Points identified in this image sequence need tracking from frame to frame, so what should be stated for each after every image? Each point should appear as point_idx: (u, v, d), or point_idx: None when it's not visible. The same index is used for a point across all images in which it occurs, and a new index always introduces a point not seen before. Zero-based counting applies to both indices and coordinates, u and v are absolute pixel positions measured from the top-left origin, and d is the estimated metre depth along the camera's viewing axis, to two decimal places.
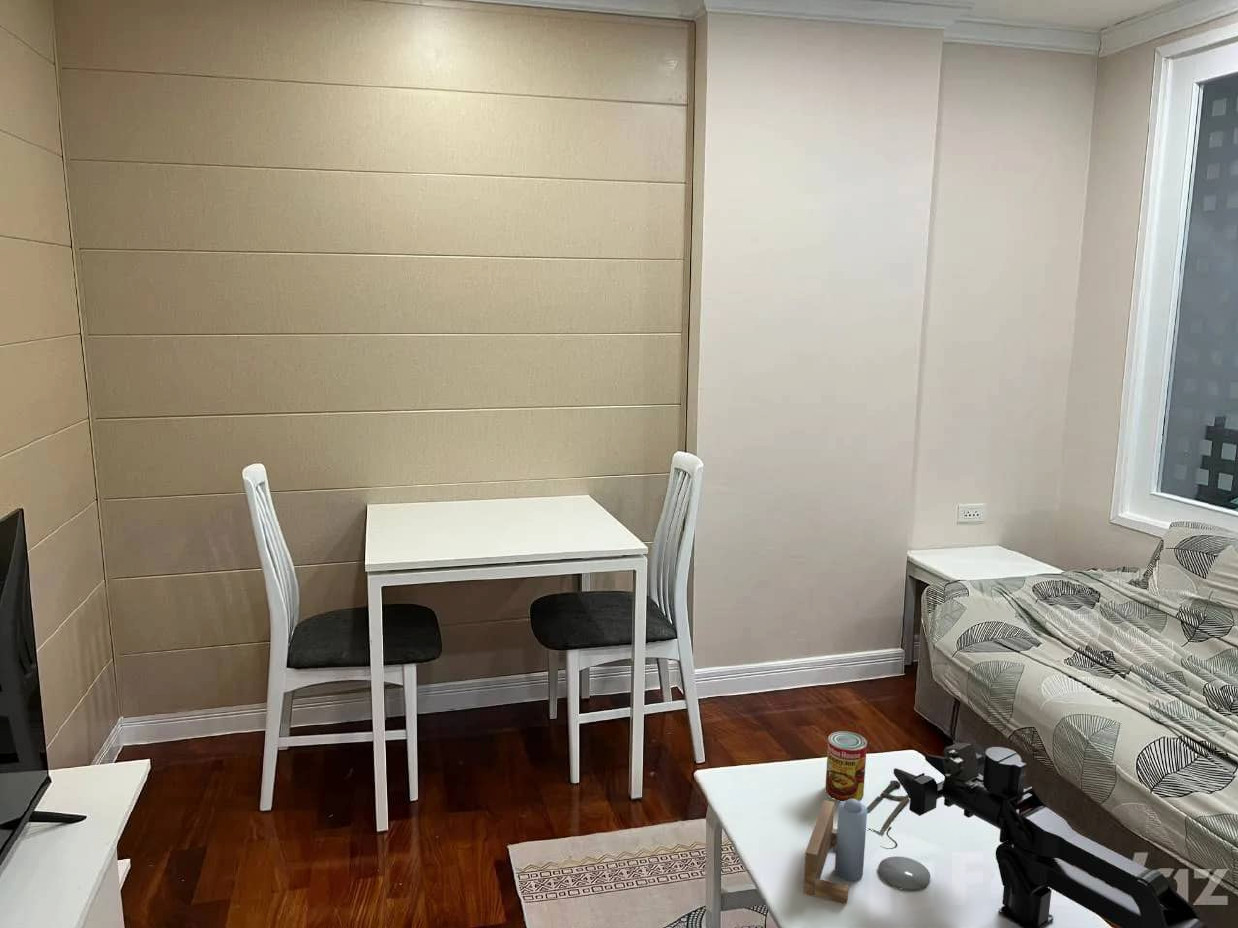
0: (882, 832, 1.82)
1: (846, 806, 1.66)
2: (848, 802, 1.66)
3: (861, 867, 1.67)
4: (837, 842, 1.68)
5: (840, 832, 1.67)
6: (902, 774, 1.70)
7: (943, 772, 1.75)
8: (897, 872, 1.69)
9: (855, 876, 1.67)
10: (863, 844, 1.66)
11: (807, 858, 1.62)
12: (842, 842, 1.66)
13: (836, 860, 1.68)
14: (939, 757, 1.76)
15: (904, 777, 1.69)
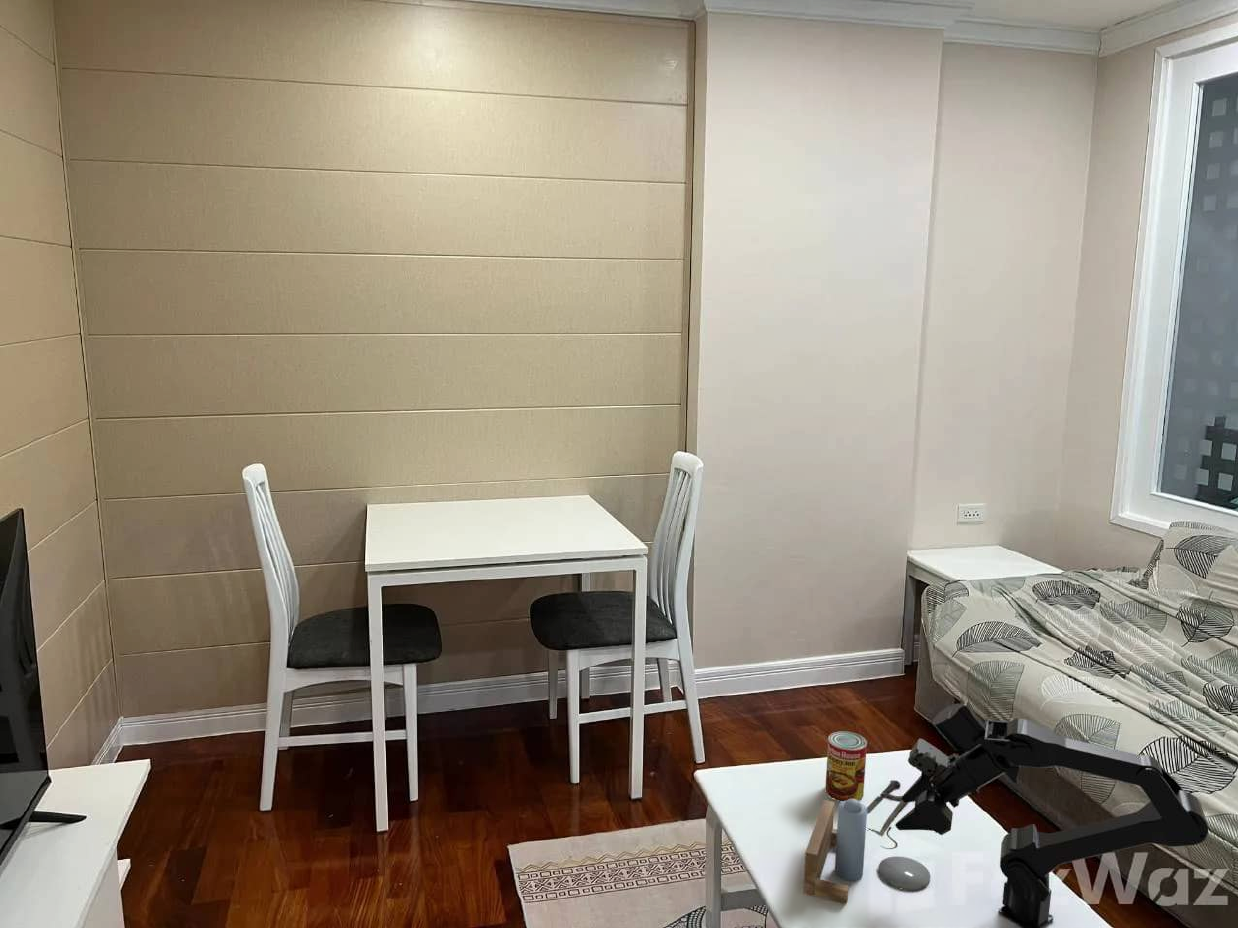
0: (882, 832, 1.82)
1: (846, 806, 1.66)
2: (848, 802, 1.66)
3: (861, 867, 1.67)
4: (837, 842, 1.68)
5: (840, 832, 1.67)
6: (905, 819, 1.58)
7: None
8: (897, 872, 1.69)
9: (855, 876, 1.67)
10: (863, 844, 1.66)
11: (807, 858, 1.62)
12: (842, 842, 1.66)
13: (836, 860, 1.68)
14: (911, 787, 1.67)
15: (909, 819, 1.57)
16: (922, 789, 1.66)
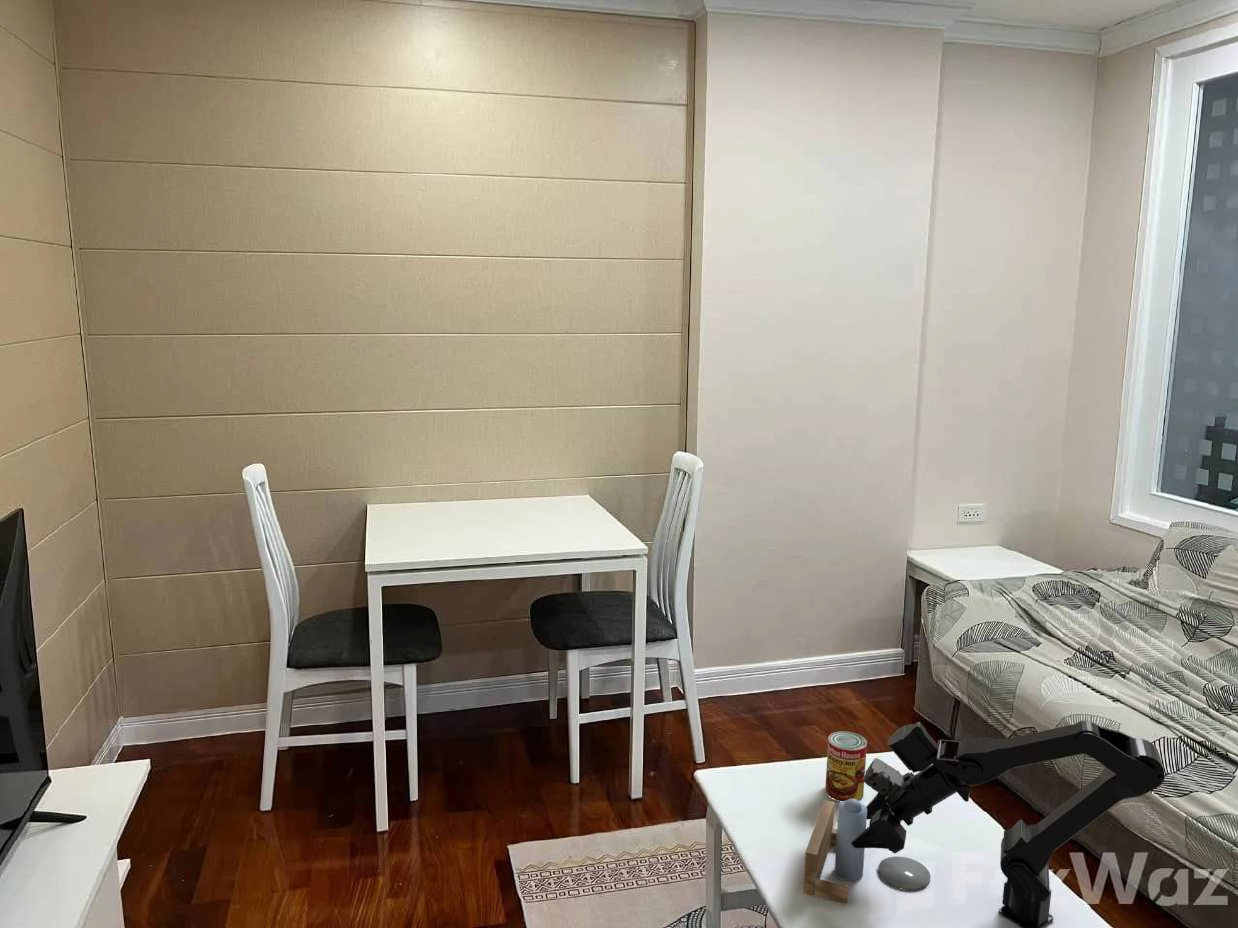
0: None
1: (846, 806, 1.66)
2: (848, 802, 1.66)
3: (861, 867, 1.67)
4: (837, 842, 1.68)
5: (840, 832, 1.67)
6: (860, 837, 1.61)
7: None
8: (897, 872, 1.69)
9: (855, 876, 1.67)
10: None
11: (807, 858, 1.62)
12: (842, 842, 1.66)
13: (836, 860, 1.68)
14: (868, 805, 1.71)
15: (864, 837, 1.61)
16: (879, 807, 1.70)
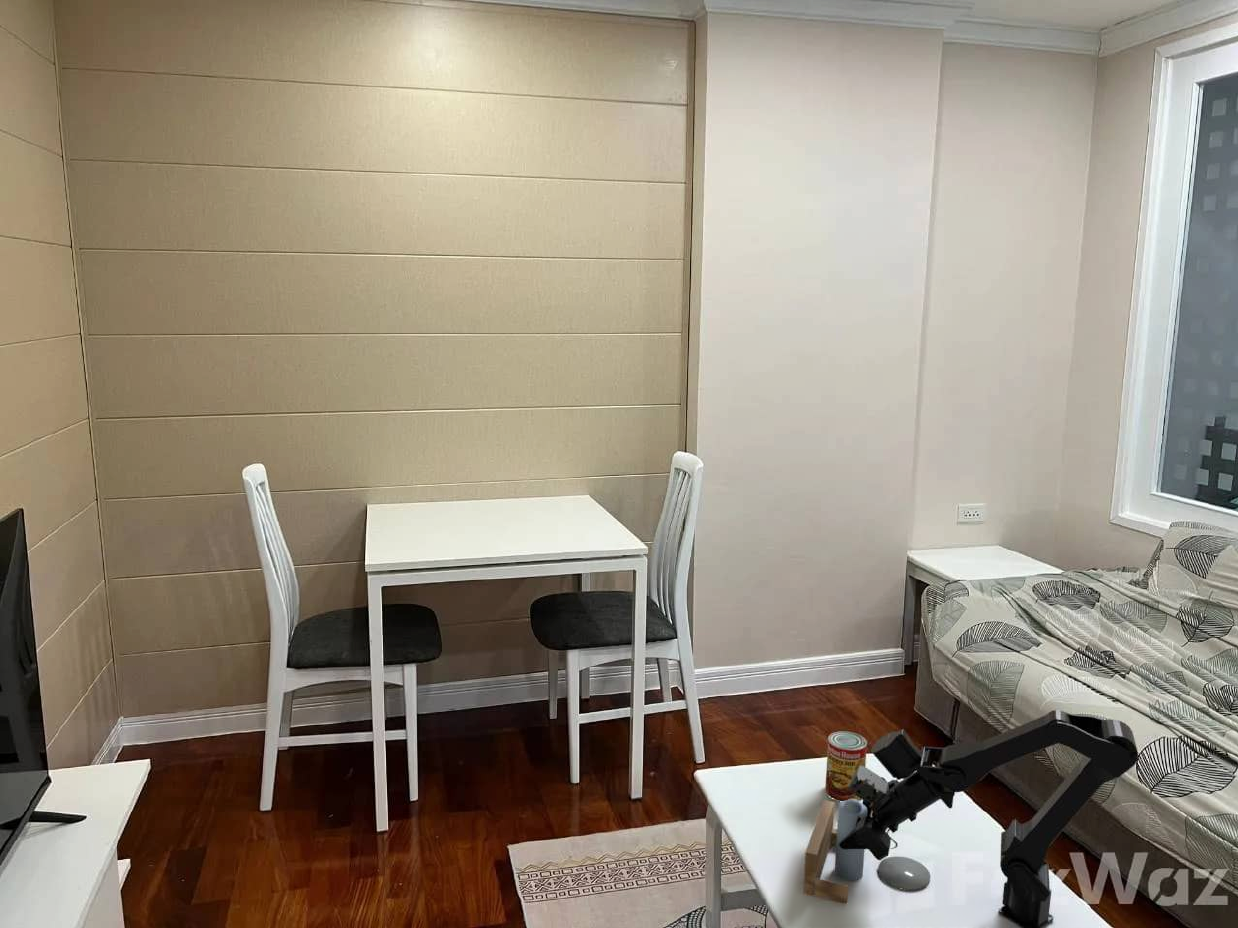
0: None
1: (846, 806, 1.66)
2: (848, 802, 1.66)
3: (861, 867, 1.67)
4: (837, 842, 1.68)
5: (840, 831, 1.67)
6: (847, 839, 1.64)
7: None
8: (897, 872, 1.69)
9: (855, 876, 1.67)
10: None
11: (807, 858, 1.62)
12: None
13: (836, 860, 1.68)
14: None
15: (851, 838, 1.64)
16: None
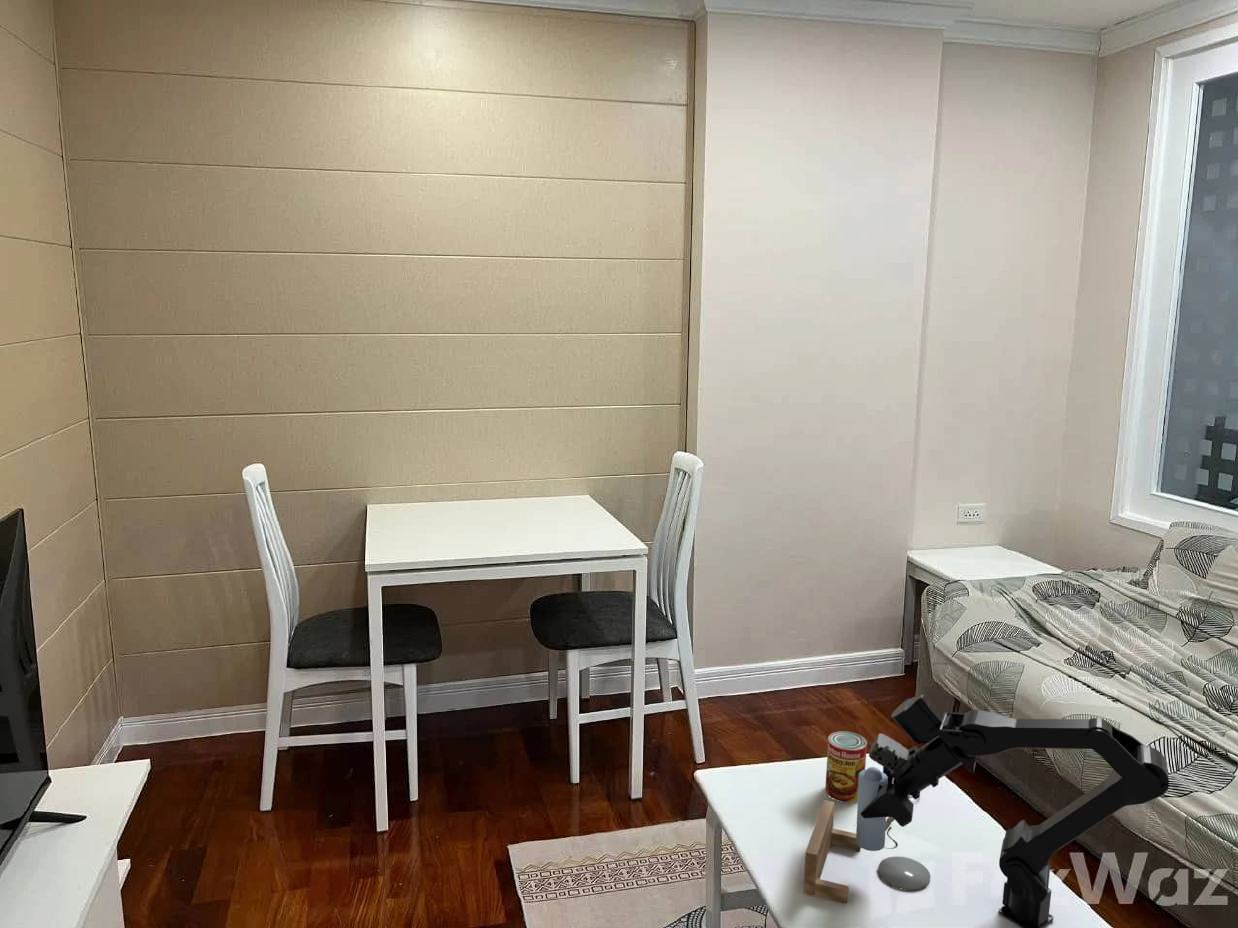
0: None
1: (866, 775, 1.65)
2: (868, 770, 1.65)
3: (883, 836, 1.66)
4: (858, 812, 1.66)
5: (861, 801, 1.65)
6: (869, 807, 1.63)
7: None
8: (897, 872, 1.69)
9: (877, 845, 1.65)
10: None
11: (807, 858, 1.62)
12: None
13: (857, 830, 1.67)
14: None
15: (873, 807, 1.62)
16: None
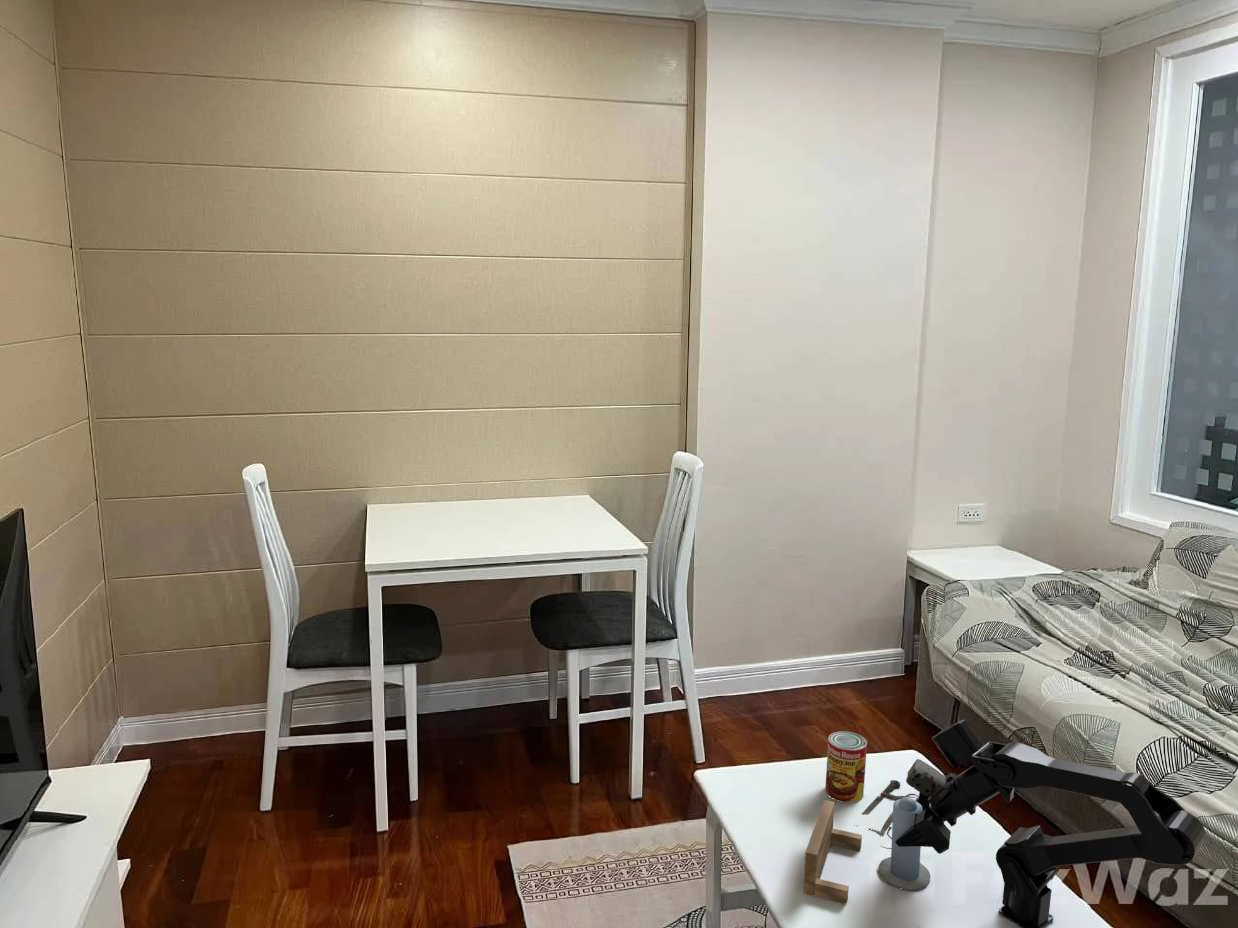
0: (882, 832, 1.82)
1: (901, 805, 1.66)
2: (903, 800, 1.66)
3: (918, 865, 1.67)
4: (893, 841, 1.67)
5: (896, 830, 1.66)
6: (905, 836, 1.63)
7: None
8: None
9: (912, 875, 1.66)
10: None
11: (807, 858, 1.62)
12: None
13: (892, 859, 1.68)
14: None
15: (909, 836, 1.62)
16: None
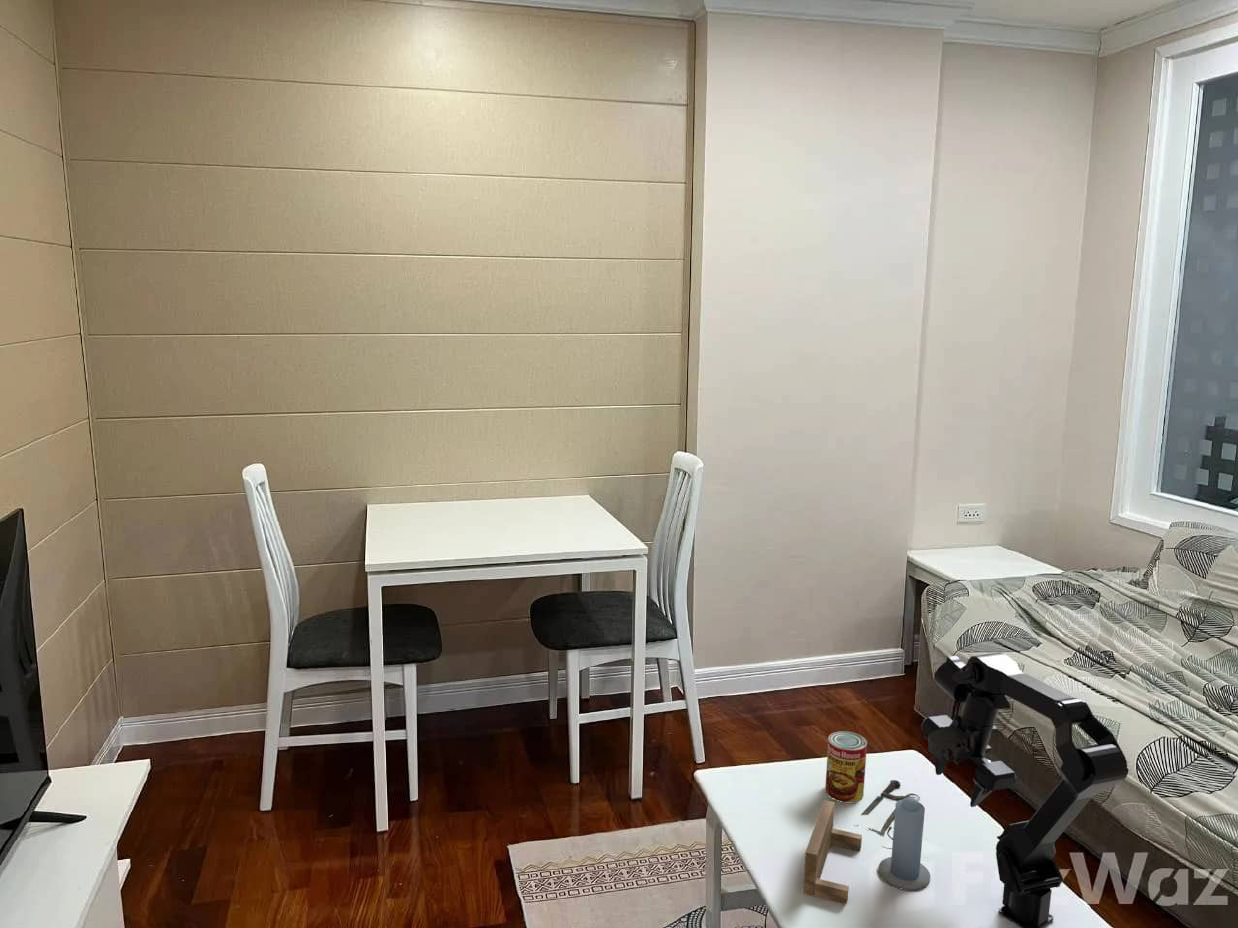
0: (883, 832, 1.82)
1: (904, 805, 1.66)
2: (905, 801, 1.66)
3: (918, 866, 1.67)
4: (894, 841, 1.67)
5: (897, 830, 1.66)
6: (977, 798, 1.66)
7: None
8: None
9: (912, 875, 1.66)
10: (920, 843, 1.66)
11: (807, 858, 1.62)
12: (900, 840, 1.66)
13: (892, 859, 1.68)
14: (936, 761, 1.75)
15: (980, 795, 1.66)
16: None
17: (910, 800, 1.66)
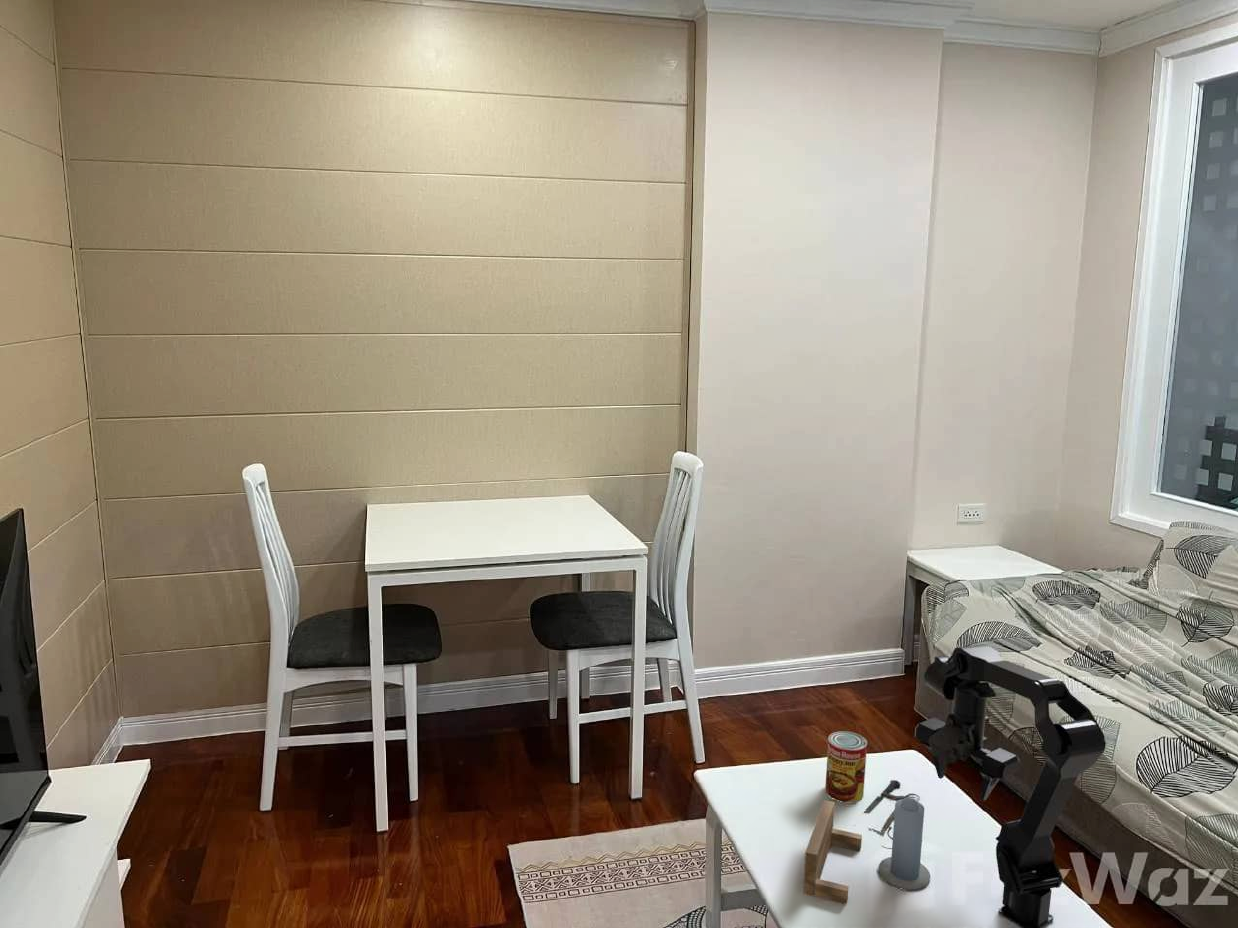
0: (883, 832, 1.82)
1: (903, 805, 1.66)
2: (905, 801, 1.66)
3: (918, 866, 1.67)
4: (894, 841, 1.67)
5: (897, 830, 1.66)
6: (987, 790, 1.68)
7: None
8: None
9: (912, 875, 1.66)
10: (920, 843, 1.66)
11: (807, 858, 1.62)
12: (899, 840, 1.66)
13: (892, 859, 1.68)
14: (937, 765, 1.76)
15: (989, 786, 1.68)
16: None
17: (910, 800, 1.66)
